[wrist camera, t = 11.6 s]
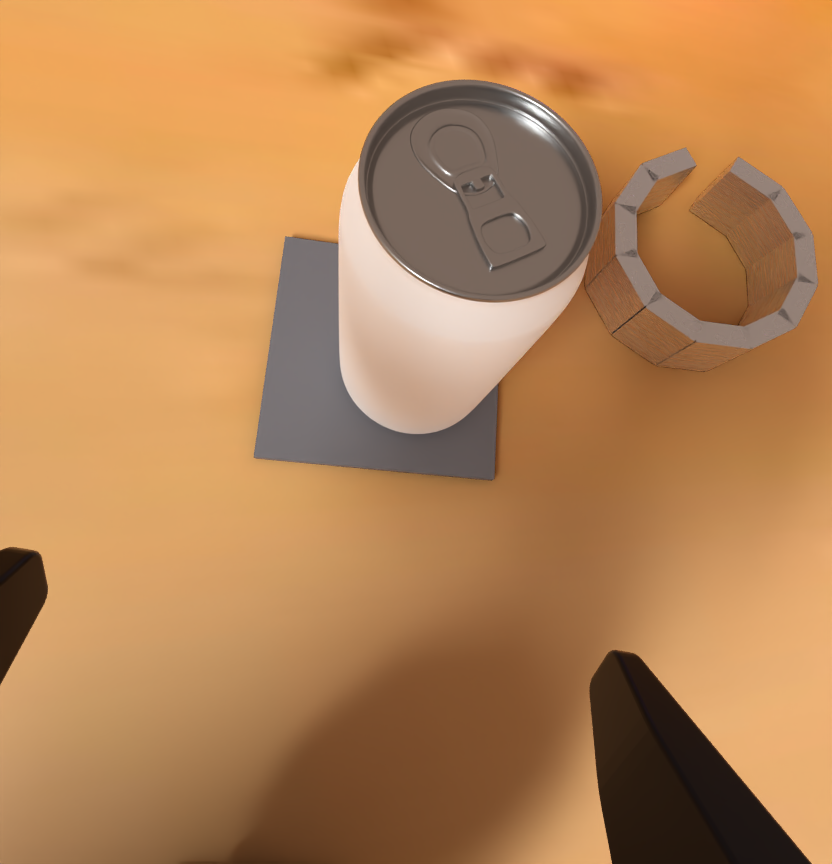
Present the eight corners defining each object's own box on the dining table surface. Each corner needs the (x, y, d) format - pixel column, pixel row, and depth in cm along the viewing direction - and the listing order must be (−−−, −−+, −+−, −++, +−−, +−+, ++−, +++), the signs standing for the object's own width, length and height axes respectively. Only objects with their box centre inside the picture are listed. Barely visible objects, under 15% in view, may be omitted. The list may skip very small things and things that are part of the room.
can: (443, 275, 25) (534, 31, 13) (512, 398, 24) (672, 254, 12) (314, 329, 23) (287, 111, 12) (381, 462, 23) (423, 367, 11)
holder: (772, 380, 26) (825, 358, 24) (584, 357, 25) (616, 331, 22) (759, 207, 29) (806, 168, 26) (585, 179, 28) (614, 135, 25)
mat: (491, 480, 23) (494, 479, 23) (255, 458, 22) (253, 456, 22) (500, 271, 26) (502, 267, 25) (286, 241, 25) (285, 236, 24)
